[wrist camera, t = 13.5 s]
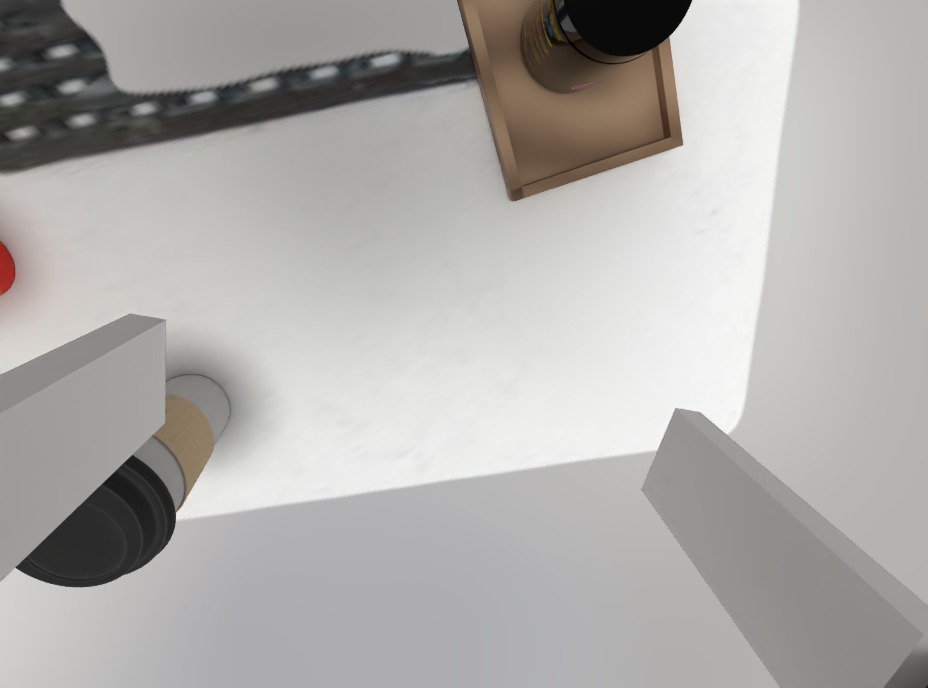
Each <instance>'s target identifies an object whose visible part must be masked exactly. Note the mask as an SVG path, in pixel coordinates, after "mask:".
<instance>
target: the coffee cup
mask: <svg viewBox="0 0 928 688" xmlns="http://www.w3.org/2000/svg"><path fill="white" fill-rule="evenodd" d="M229 417H230V404H229V401H228V398H227V396H226V394H225V393H224V391H223V390H222V388H221V387H220V386H219V385H218V384H217V383H215V382H214V381H212V380H211V379H208V378H206V377H203V376H199V375H182V376H178V377H175V378H173V379H170V380H168V381H166V382H165V424H163V425H162V426H161V427H160V428H159V429H158V430H157V431H156V432H155V433H154V434H153V435H152V436H151V437H150V438H149V439H148V440H147V441H146V442H145V443H144V444H143V445H142V446H141V447H140V448H139V449H138V450H137V451H135V452H134V453H133V454H132V455H131V456H130V457H129V458H128V459H127V460H126V461H125V462H124V463H123V464H122V465H121V466H120V467H119V468H118V469H117V470H116V471H115V472H114V473H113V474H112V475H111V476H110V477H109V478H107V479H106V480H105V481H104V482H103V483H102V484H101V485H100V486H99V487H98V488H97V489H96V490H95V491H94V492H93V493H92V494H91V495H90V496H89V497H88V498H87V499H86V500H85V501H84V502H83V503H82V504H81V505H79V506H78V507H77V508H76V509H75V510H74V511H73V512H72V513H71V514H70V515H69V516H68V517H67V518H66V519H65V520H64V521H63V522H62V523H61V524H60V525H59V526H58V527H57V528H56V529H55V530H54V531H53V532H52V533H50V534H49V535H48V536H47V537H46V538H45V539H44V540H43V541H42V542H41V543H40V544H39V545H38V546H37V547H36V548H35V549H34V550H33V551H32V552H31V553H30V554H29V555H28V556H27V557H26V558H25V559H24V560H22V561H21V562H20V563H19V564H18V565H17V566H16V567H15V568H17V569H18V570H20V571H21V572H23V573H25V574H27V575H29V576H31V577H33V578H36V579H38V580H41V581H44V582H47V583H50V584H55V585H60V586H66V587H91V586H97V585H102V584H105V583H108V582H111V581H113V580H115V579H117V578H119V577H121V576H122V575H125V574H128V573H131V572H133V571H135V570H137V569H139V568H141V567H143V566H144V565H146V564H147V563H148V562H150V561H151V560H152V559H153V558H154V557H155V556H156V555H157V554H158V553H160V552H161V551H162V550H163V549H164V547H165V546H166V545H167V544H168V542H169V540H170V539H171V536H172V534H173V531H174V528H175V523H176V512H177V511H178V510H179V509H180V508H181V506H182V505H183V503H184V502H185V500H186V498H187V496H188V495H189V493H190V491H191V489H192V488H193V486H194V484H195V482H196V481H197V479H198V477H199V475H200V474H201V472H202V470H203V468H204V467H205V465H206V463H207V461H208V460H209V458H210V456H211V454H212V451H213V447H214V445H215V443H216V442H217V440H218V438H219V436H220V435H221V433H222V431H223V429H224V428H225V426H226V424H227V422H228V420H229Z"/></svg>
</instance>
